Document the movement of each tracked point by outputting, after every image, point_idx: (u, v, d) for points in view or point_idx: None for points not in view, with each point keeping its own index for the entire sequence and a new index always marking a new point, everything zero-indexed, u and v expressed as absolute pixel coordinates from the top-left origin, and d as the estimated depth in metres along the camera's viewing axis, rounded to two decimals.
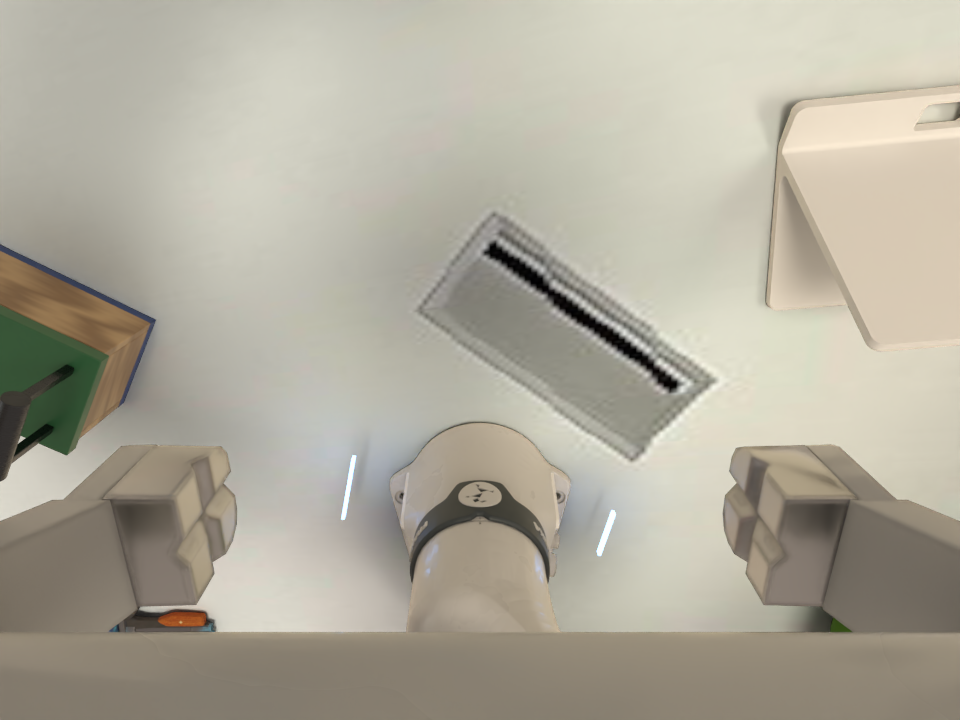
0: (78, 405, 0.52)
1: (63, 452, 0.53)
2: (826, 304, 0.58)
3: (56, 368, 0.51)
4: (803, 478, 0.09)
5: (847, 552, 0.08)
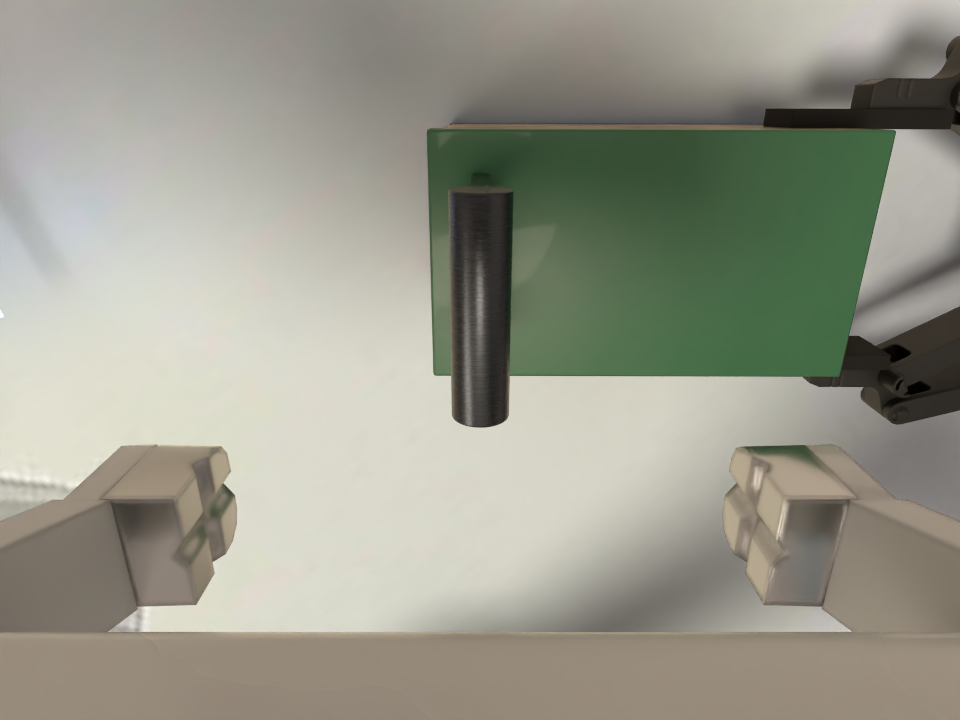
0: (442, 267, 0.25)
1: (435, 135, 0.23)
2: None
3: None
4: (803, 478, 0.09)
5: (847, 552, 0.08)
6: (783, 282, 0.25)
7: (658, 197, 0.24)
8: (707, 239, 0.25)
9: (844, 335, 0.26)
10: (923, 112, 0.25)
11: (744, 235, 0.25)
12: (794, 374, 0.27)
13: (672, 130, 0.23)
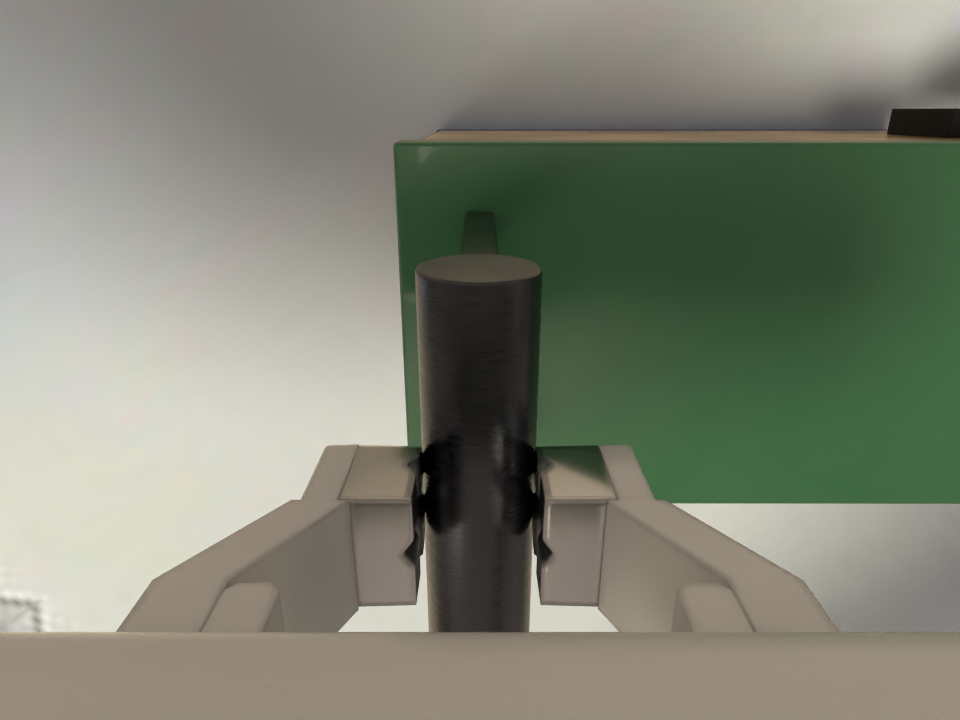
0: None
1: (407, 151, 0.15)
2: None
3: None
4: (575, 478, 0.09)
5: (609, 552, 0.08)
6: (939, 371, 0.17)
7: (755, 247, 0.15)
8: (828, 310, 0.16)
9: None
10: None
11: (885, 303, 0.16)
12: (943, 500, 0.18)
13: (783, 143, 0.15)
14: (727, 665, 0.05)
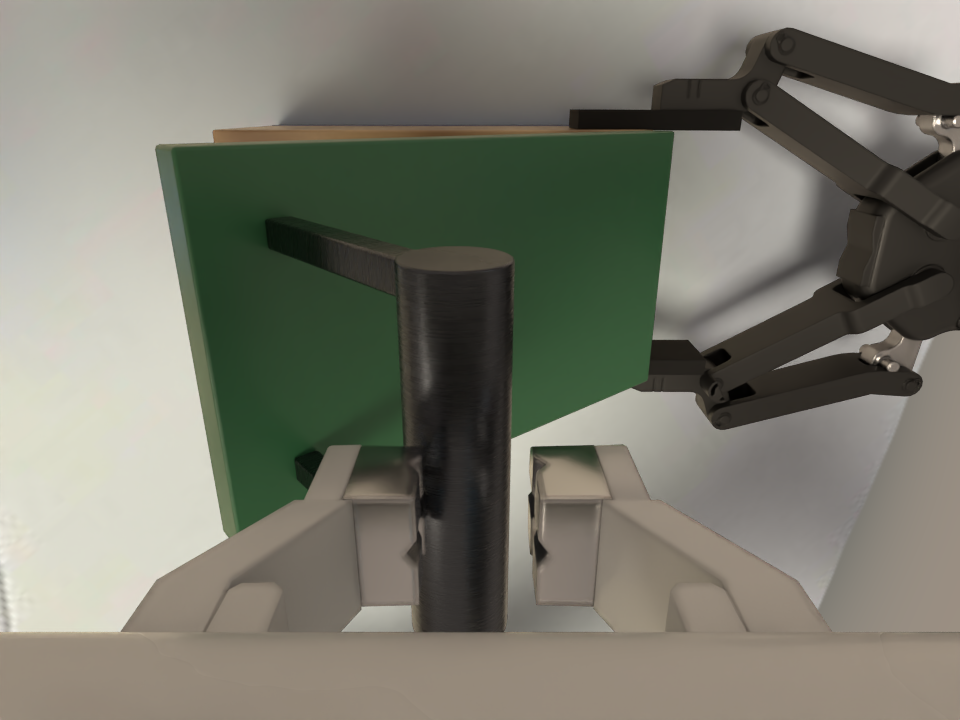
0: (233, 380, 0.15)
1: (190, 157, 0.13)
2: None
3: (337, 438, 0.17)
4: (571, 478, 0.09)
5: (605, 552, 0.08)
6: (608, 299, 0.23)
7: (499, 224, 0.19)
8: (547, 266, 0.21)
9: (649, 339, 0.26)
10: (710, 113, 0.25)
11: (576, 255, 0.21)
12: (619, 390, 0.25)
13: (507, 137, 0.18)
14: (727, 665, 0.05)
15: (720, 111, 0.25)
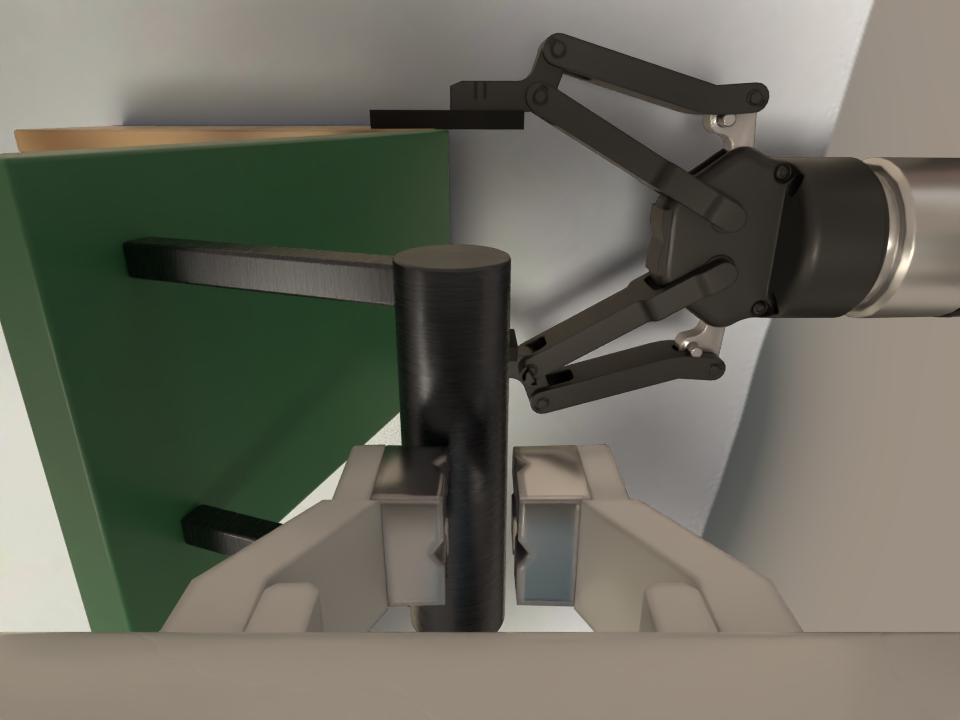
0: (106, 444, 0.12)
1: (30, 171, 0.10)
2: None
3: (219, 485, 0.15)
4: (551, 478, 0.09)
5: (584, 552, 0.08)
6: None
7: (335, 227, 0.18)
8: None
9: None
10: (494, 113, 0.27)
11: (394, 253, 0.22)
12: None
13: (332, 138, 0.18)
14: (727, 665, 0.05)
15: (503, 111, 0.27)
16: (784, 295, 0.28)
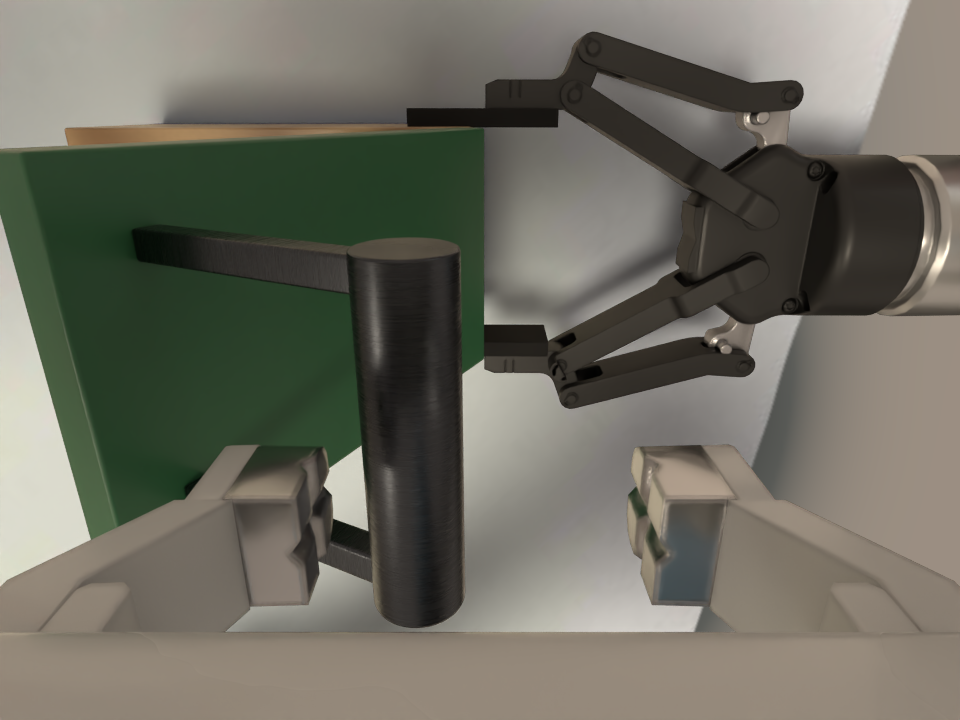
0: (112, 411, 0.13)
1: (43, 163, 0.11)
2: None
3: None
4: (688, 478, 0.09)
5: (728, 552, 0.08)
6: None
7: (354, 221, 0.19)
8: None
9: (482, 320, 0.28)
10: (529, 111, 0.27)
11: None
12: (463, 370, 0.27)
13: (352, 135, 0.18)
14: (727, 665, 0.05)
15: (537, 109, 0.27)
16: (816, 292, 0.29)
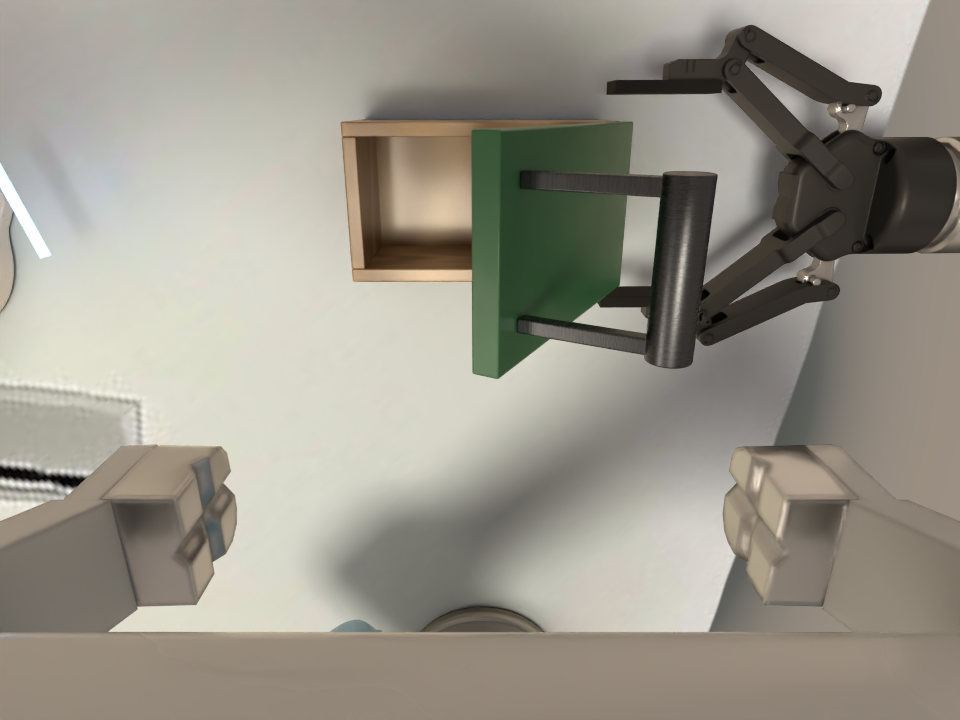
0: (504, 266, 0.25)
1: (505, 135, 0.23)
2: None
3: (528, 308, 0.28)
4: (803, 478, 0.09)
5: (847, 552, 0.08)
6: (609, 228, 0.37)
7: None
8: (593, 205, 0.33)
9: (621, 257, 0.40)
10: (702, 81, 0.38)
11: (601, 199, 0.34)
12: (610, 290, 0.39)
13: (584, 125, 0.30)
14: (727, 665, 0.05)
15: (708, 80, 0.38)
16: (879, 234, 0.40)
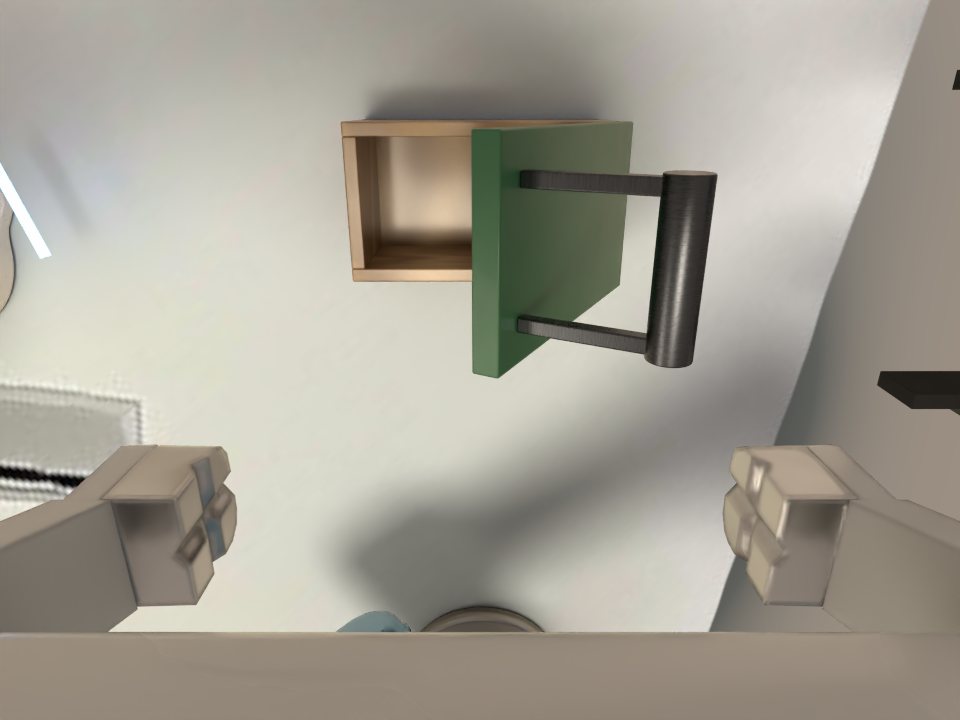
0: (504, 266, 0.25)
1: (505, 134, 0.23)
2: None
3: (528, 307, 0.28)
4: (803, 478, 0.09)
5: (847, 552, 0.08)
6: (609, 228, 0.37)
7: None
8: (593, 205, 0.33)
9: (621, 257, 0.40)
10: None
11: (601, 199, 0.34)
12: (610, 290, 0.39)
13: (584, 124, 0.30)
14: (727, 665, 0.05)
15: None
16: None
